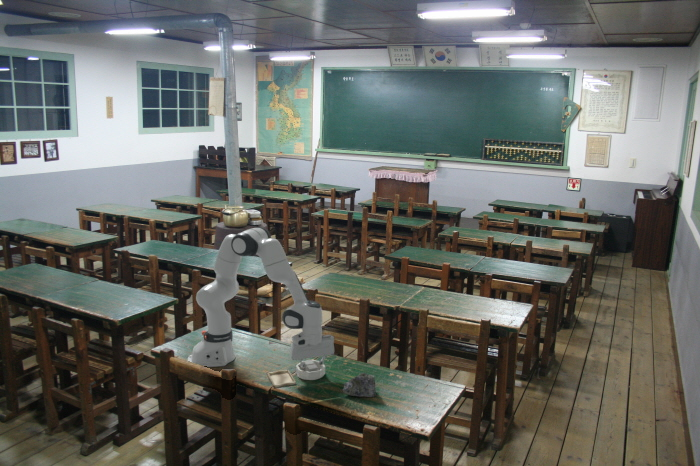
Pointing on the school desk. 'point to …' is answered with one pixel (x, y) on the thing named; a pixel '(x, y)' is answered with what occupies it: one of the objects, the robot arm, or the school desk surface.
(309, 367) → the grey rectangular block
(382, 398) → the school desk surface
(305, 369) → the grey cube
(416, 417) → the school desk surface
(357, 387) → the mineral rock
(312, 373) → the bowl
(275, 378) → the tray
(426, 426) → the school desk surface
